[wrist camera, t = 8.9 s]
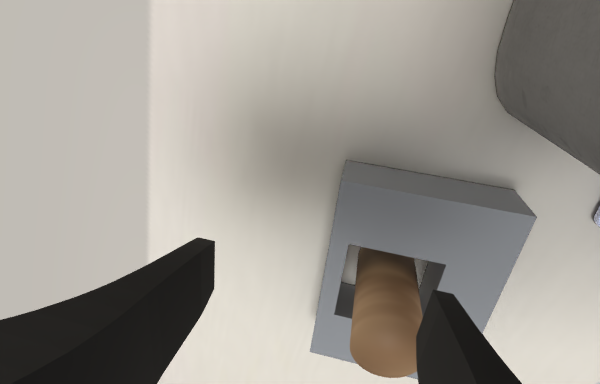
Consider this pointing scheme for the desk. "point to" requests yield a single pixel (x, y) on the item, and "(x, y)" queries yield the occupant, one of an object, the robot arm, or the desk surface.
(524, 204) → the socket board
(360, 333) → the walnut dowel
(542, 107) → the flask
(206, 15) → the desk surface
